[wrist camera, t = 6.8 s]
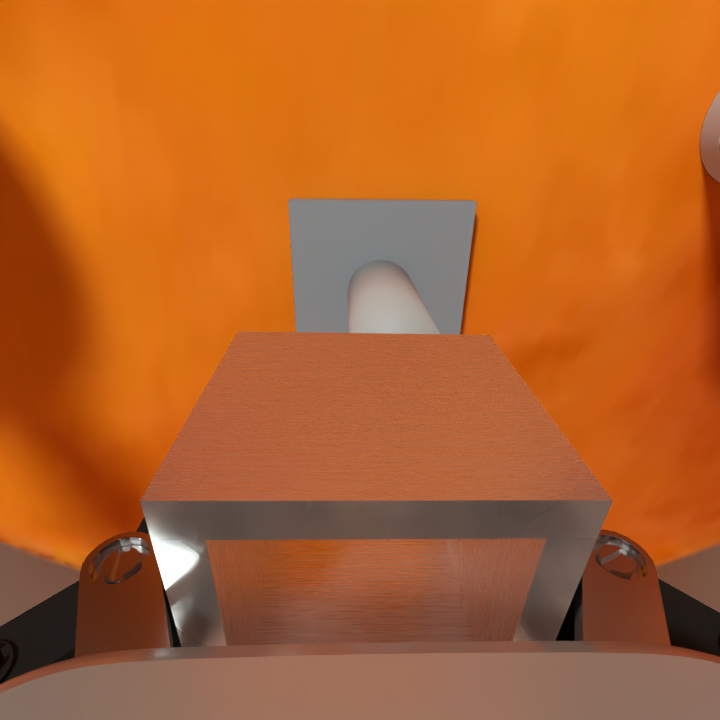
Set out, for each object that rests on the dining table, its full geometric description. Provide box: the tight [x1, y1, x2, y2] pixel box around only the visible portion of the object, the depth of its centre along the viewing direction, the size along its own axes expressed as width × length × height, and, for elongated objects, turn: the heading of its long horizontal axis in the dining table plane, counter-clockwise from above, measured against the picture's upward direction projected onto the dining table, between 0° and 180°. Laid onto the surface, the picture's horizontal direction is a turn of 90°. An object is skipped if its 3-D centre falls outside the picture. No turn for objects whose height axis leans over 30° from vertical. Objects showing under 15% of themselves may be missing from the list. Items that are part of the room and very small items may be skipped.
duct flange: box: [288, 199, 477, 334], centre depth 21 cm, size 10×10×10 cm
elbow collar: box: [140, 331, 613, 647], centre depth 11 cm, size 10×7×6 cm, turn 179°
